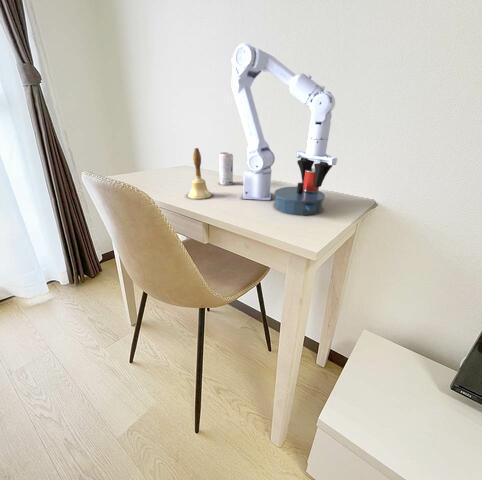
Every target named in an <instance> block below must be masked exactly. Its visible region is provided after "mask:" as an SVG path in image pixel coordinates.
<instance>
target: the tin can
mask: <svg viewBox="0 0 482 480" xmlns="http://www.w3.org/2000/svg"><path fill="white" fill-rule="evenodd" d="M303 191H305V192H310V193H315V192H318V191H320V187H315V167H314V168H313V167H312V168H308V169H305V176H304V186H303Z"/></svg>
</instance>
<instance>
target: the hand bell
mask: <svg viewBox="0 0 482 480" xmlns="http://www.w3.org/2000/svg"><path fill="white" fill-rule="evenodd" d="M192 159H193V165H194V167H195V179H193V180H191V181H192V182H191V189H190V192H188V194H187V198H189V199H193V200H204V199H209V198H210V197H212V193H211V192H210V191H209V189H208V187H207V183H206V180H205V179H204V178H202V173H201V165H202V155H201V151H200V149H199V147H194V150H193V155H192Z"/></svg>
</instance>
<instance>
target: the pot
mask: <svg viewBox="0 0 482 480" xmlns="http://www.w3.org/2000/svg"><path fill="white" fill-rule="evenodd" d="M274 205H275V208H276V210H278V211H279V212H282V213H284V214H289V215H295V216H312V215H316V214H319V213H320V212H322V209H323V205H324V200H322V201H319V202H314V203H298V202H291V201H286V200H283V199H280V198H278V197H277V196H276V195H275V203H274Z"/></svg>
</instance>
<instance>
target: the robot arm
mask: <svg viewBox="0 0 482 480" xmlns="http://www.w3.org/2000/svg"><path fill="white" fill-rule="evenodd" d="M231 65H232V74H231V90H232V92H233V95H234V100H235V103H236V106H237V109H238V113H239V116H240V120H241V124H242V126H243V130H244V133H245V138H246V140H247V144H248V145H247V149H246V156H247V161H246V162H247V167H248V168H249V170H244V172H243V185H242V200H243V199H244V200H259V201H271V199H272V192H271V186H272V185H271V183H272V171H273V170H272V166H273V165H274V163H275V160H276V158H275V154H274V152H273V151H272V150H271V148H270V145H269V143H268V141H266V139H265V137H264V133H263V130H262V126H261V122H260V119H259V115H258V112H257V108H256V105H255V100H254V97H253V93H252V89H251V87H252V85H253V83H254V81H255V79H256V78H257V77H258V76H259V75H260V74H261V73H262V72H264V73H270V74H272V75H273V76H274V77H276V78H277V79H279V80H280V81H281V82H283V83H284V84H285V85H286V86H288V87H289V93H290V95H291V96H293V97H294V98H296V99H297V100H298V101H299V102H301V104H303V105H304V106H306V107H309V110H310V111H311V116H310V121H309V128H308V136H307V143H306V151H303V150H297V151H296V154H295V155H296V156H295V158H296V159H298V160H297V162H296V163H297V165H298V167H299V170H300V175H301V183H304V176H305V169H308V168H313V166H314V169H315V187H319V188H320V187H322V185H323V182H324V180H325V177H326V176H327V174H328V172H329V171H330V170H331V168H333V166H336V165H337V163H338V157H335V156H331V155H328V154H327V150H328V149H327V148H328V142H329V136H330V130H331V124H332V122H331V121H332V114H333V112H332V111H333V110H334V109H335V106H336V98H335V96H334V95H333V94H332V92H330V91H328V90H327V91H325V89H326V87H325V86H324V85H323V84H322V85H320V84H318V83H317V82H316V81H314V80H313V79H312V77H313V76H312V75H311V74H310V73H306V74H305V73H298V74H296V73H294V72H293V71H292V70H291V69H289V67H287V66H286V65H285V64H284V63H282V62H281V60H278V59H277V58H276V57H275V56H273V55H272V54H270V53H268V52H265V51H264V50H262V49H260V48H257V47H254V46H252V44H249V43H248V42H241V43H240V44H239V45H237V46H236V48H235V50H234V52H233V54H232V57H231ZM315 162H317V163H315Z"/></svg>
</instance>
